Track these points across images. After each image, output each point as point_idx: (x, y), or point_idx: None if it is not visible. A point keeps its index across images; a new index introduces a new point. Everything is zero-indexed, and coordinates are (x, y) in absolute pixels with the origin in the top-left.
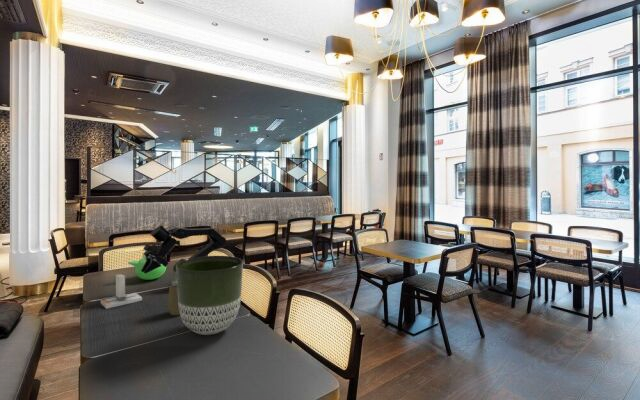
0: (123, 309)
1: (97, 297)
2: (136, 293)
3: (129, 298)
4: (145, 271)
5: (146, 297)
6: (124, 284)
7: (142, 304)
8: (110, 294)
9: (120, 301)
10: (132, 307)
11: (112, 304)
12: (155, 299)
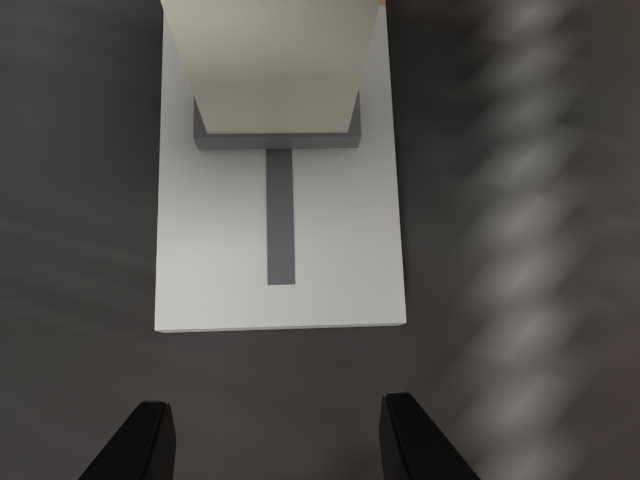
0: (18, 94)
1: (608, 8)
2: (370, 322)
3: (225, 198)
4: (119, 447)
5: (238, 410)
6: (175, 31)
7: (13, 290)
8: (637, 125)
9: (188, 94)
10: (4, 178)
11: (164, 16)
12: (70, 476)
